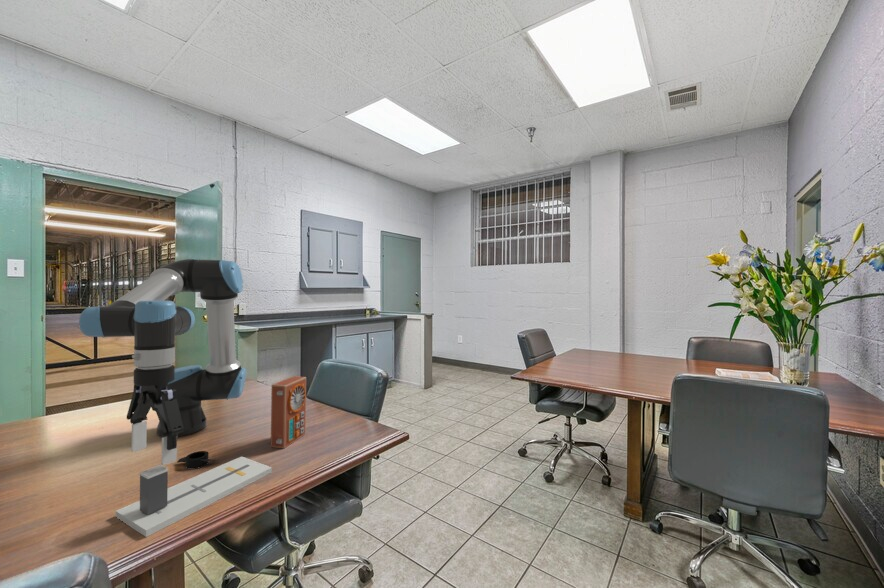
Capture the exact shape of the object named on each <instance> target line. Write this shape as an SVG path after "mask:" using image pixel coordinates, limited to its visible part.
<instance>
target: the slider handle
mask: <svg viewBox="0 0 884 588" xmlns="http://www.w3.org/2000/svg"><path fill="white" fill-rule="evenodd" d="M168 471H169V468H168V467H166V466H165V465H161V464H159V465H155V466H153V467H151V468H148V469H145V470H143V471H140V472H139V500H140V511H142V512H143V513H145V514H147V515H149V514H151V513H153V512H155V511H157V510H159V509H162V508H164V507H166V506H167V489H168V488H169V487H168V486H169V485H168V484H169V483H168V481H169V479H168Z"/></svg>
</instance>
